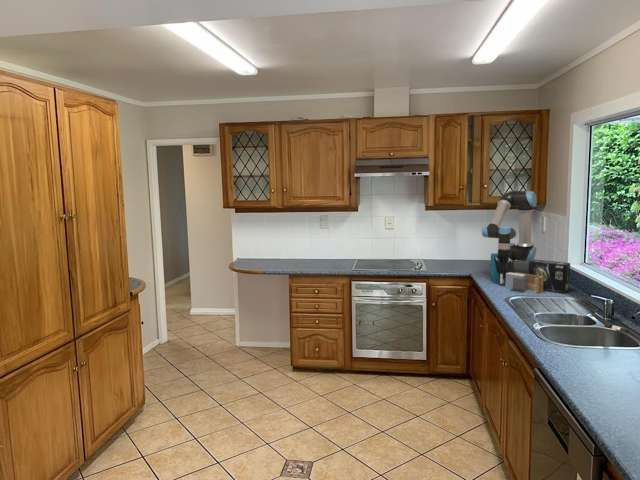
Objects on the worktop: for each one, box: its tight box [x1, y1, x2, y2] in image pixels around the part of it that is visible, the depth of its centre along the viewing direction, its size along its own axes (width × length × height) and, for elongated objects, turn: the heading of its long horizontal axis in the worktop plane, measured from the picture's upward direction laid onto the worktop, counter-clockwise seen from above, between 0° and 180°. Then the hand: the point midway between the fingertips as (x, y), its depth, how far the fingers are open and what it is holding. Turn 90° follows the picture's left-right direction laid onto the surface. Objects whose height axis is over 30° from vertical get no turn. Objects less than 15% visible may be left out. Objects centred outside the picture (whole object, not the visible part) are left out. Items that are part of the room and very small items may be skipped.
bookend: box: [509, 278, 526, 294], centre depth 301 cm, size 4×8×8 cm, turn 40°
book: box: [504, 272, 527, 291], centre depth 308 cm, size 5×12×10 cm, turn 40°
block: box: [489, 252, 510, 283], centre depth 330 cm, size 12×5×20 cm, turn 90°
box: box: [527, 259, 571, 294], centre depth 304 cm, size 23×10×19 cm, turn 47°
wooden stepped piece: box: [516, 271, 544, 295], centre depth 304 cm, size 10×19×10 cm, turn 40°
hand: (502, 283), depth 316 cm, fingers closed
